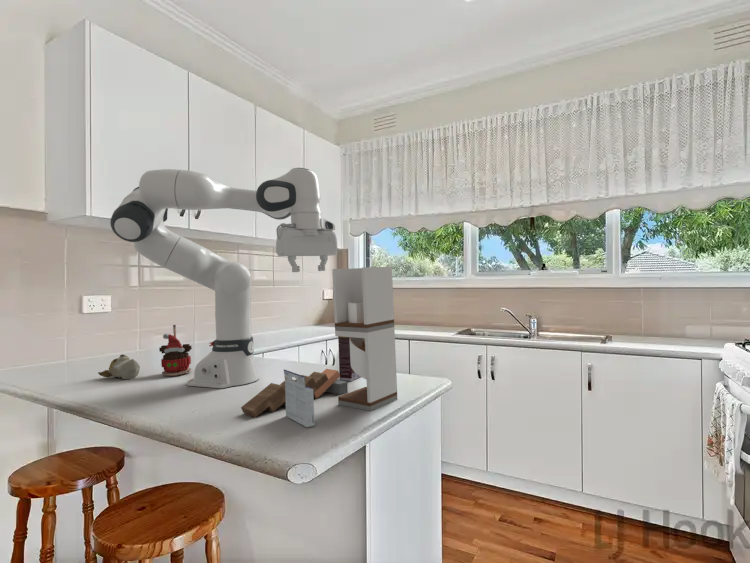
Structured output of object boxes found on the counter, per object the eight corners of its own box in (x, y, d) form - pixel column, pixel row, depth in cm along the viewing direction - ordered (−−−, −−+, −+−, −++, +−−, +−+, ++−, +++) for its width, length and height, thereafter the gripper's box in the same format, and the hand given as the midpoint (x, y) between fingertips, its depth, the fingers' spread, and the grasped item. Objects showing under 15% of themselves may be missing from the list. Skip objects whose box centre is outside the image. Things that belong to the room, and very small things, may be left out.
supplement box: (352, 381, 137) (349, 330, 137) (339, 380, 140) (336, 330, 139) (365, 375, 145) (363, 327, 145) (353, 374, 147) (351, 327, 147)
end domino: (314, 392, 119) (337, 370, 126) (302, 390, 123) (326, 368, 129) (316, 398, 120) (340, 376, 126) (305, 395, 123) (328, 374, 130)
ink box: (316, 426, 98) (313, 374, 98) (306, 428, 97) (304, 376, 97) (294, 414, 108) (291, 367, 107) (285, 416, 106) (282, 368, 106)
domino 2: (269, 406, 109) (298, 381, 116) (258, 402, 112) (286, 378, 119) (272, 412, 110) (301, 387, 116) (261, 408, 113) (289, 384, 120)
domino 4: (300, 396, 116) (325, 373, 122) (289, 394, 119) (314, 371, 126) (303, 402, 117) (328, 379, 123) (292, 399, 120) (316, 377, 127)
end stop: (339, 394, 123) (339, 384, 123) (316, 389, 130) (316, 379, 130) (347, 392, 125) (347, 381, 125) (324, 387, 132) (324, 377, 132)
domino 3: (286, 401, 112) (312, 377, 119) (274, 398, 116) (301, 374, 122) (289, 407, 113) (315, 383, 120) (277, 404, 117) (304, 380, 123)
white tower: (366, 393, 123) (360, 268, 122) (397, 399, 116) (391, 266, 116) (338, 404, 114) (332, 269, 113) (370, 411, 107) (364, 267, 106)
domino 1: (251, 411, 105) (282, 385, 112) (240, 407, 109) (271, 383, 115) (255, 417, 106) (285, 392, 113) (244, 413, 109) (274, 389, 116)
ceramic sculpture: (117, 357, 150) (94, 357, 157) (119, 382, 149) (96, 381, 157) (147, 352, 159) (124, 352, 167) (149, 376, 158) (126, 375, 166)
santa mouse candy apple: (195, 370, 165) (193, 322, 165) (188, 376, 156) (186, 325, 156) (165, 372, 164) (163, 324, 163) (156, 378, 154) (154, 327, 154)
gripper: (283, 221, 119) (285, 272, 120) (339, 224, 134) (341, 270, 135) (270, 224, 124) (272, 273, 124) (325, 226, 139) (328, 270, 139)
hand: (309, 271), depth 129 cm, fingers open, 8 cm apart
